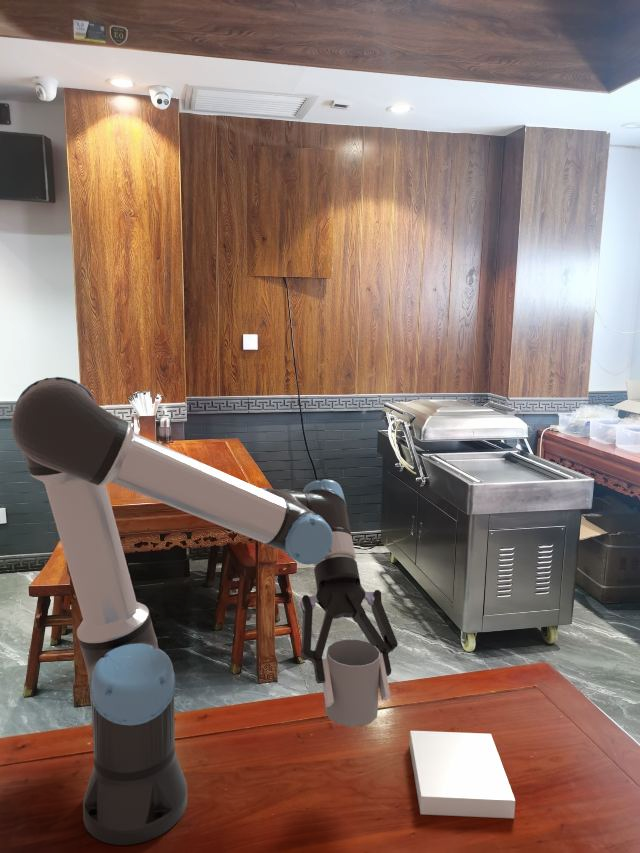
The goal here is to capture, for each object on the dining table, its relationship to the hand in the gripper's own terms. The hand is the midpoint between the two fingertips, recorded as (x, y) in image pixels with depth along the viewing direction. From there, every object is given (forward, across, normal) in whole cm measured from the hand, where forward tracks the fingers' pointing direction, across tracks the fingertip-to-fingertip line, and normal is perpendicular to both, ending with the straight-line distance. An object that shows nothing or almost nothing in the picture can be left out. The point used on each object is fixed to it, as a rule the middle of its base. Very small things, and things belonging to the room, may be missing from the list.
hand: (358, 701), depth 99 cm
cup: (0, 0, -5) cm, 5 cm away
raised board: (+11, -17, -11) cm, 23 cm away
